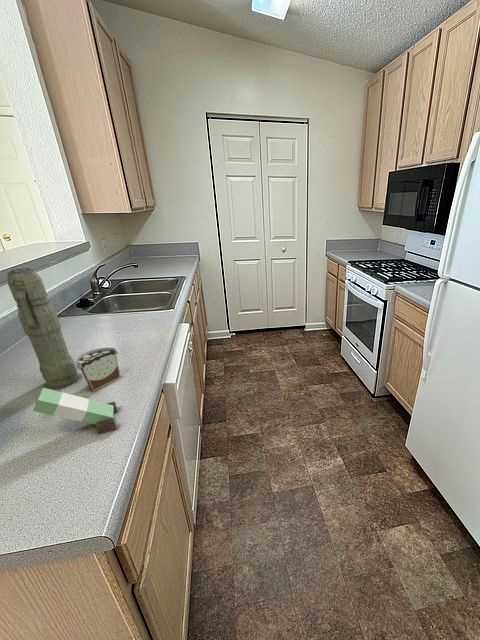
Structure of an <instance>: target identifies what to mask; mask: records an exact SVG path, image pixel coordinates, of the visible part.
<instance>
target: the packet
mask: <svg viewBox="0 0 480 640" xmlns="http://www.w3.org/2000/svg"><path fill="white" fill-rule="evenodd" d="M106 403H107V402H106ZM106 403H105V402H101V401H98V400H93V399H90V398H87V397H82V396H79V395H75V394H70V393H67V392H61V391H57V390H54V389H51V388H46V387H42V389H41V391H40V393H39V396H38V397H37V399H36V402H35V405H34V406H33V409H32V411H33V412H36V413H40V414H41V413H42V414H45V415H50V416H53V417H57V418H63V419H67V420H68V419H69V420H73V421H77V422H81V423H87V424H91V425H96V422H100V421H104V420H108V419H112V418H114V413H113V412H114V405H110V404H106Z"/></svg>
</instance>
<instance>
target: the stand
mask: <svg viewBox="0 0 480 640" xmlns="http://www.w3.org/2000/svg"><path fill="white" fill-rule="evenodd" d="M106 404H110V405H114V412H113V414H114V413H118V405H117V402H116V401H111V402H106ZM95 427H96V430H97V433H98V435H100V434H104V433H108V432H111V431H116V430H117V429H118V424H117V422H116V419H115V417H113V418H112V419H108V420H104V421H100V422H96V424H95Z"/></svg>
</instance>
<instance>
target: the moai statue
mask: <svg viewBox="0 0 480 640" xmlns="http://www.w3.org/2000/svg"><path fill="white" fill-rule="evenodd" d="M6 273H7V277H6V279H7V281H6V282H7V285H8V288H9V290H10V293H11V295H12V297H13V301H15V303H16V308H17V317H18V320H19V321H20V324H21V327H22V329H23V331H24V334H25V335H26V336H27V337H28V339H29V341H30V343H31V345H32V348H33V350H34V353H35V355H36V358H37V360H38V363H39V371H40V373H41V376H42V378H43V380H44V381H45V383H46V386H47V388H48V389H60V388H61V389H62V388H65V387H68V386H71V385H73V384H75V383H76V382H77V381H78V380H79V379H80V376H79V373H78V368H77V365H76V363H75V361H74V358H73V357H72V356H71V355H70V353H69V349H68V347H67V344H66V341H65V339H64V336H63V333H62V330H61V328H62V325H61V321H60V320H59V316H58V314H57V310H56V308H54V306H52V305H53V304H51V301H50V299H49V298H48V294H47V290H46V287H45V285H44V281H43V279H42V277H41V276H40V275H39V274H38V273H37V271H36V270H35V269H32V268H27V267H25V268H24V267H23V268H16V269H11V270H9V272H6Z"/></svg>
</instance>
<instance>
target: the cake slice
mask: <svg viewBox="0 0 480 640" xmlns="http://www.w3.org/2000/svg"><path fill="white" fill-rule="evenodd" d="M117 350H118V349H116V348H115V347H101V348H100V347H99V348H95V349H92V350H89V351H85V352H83V353H81V354H80V355H79V356H77V358H76V361H75V362H76V363H75V364H76V369H77V370H79V371H81V373H82V375H83V378H84V379H85V381H86V383H87V385H88V387H89V389H90V391H92V392H95V391H97V390H99V389H101V388H103V387H105V386H107V385H109V384H111V383H113V382H114V381H117V380H119V379H120V378H121V372H120V367H119V361H118V356H117V355H118V354H119V352H118V351H117Z"/></svg>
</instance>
